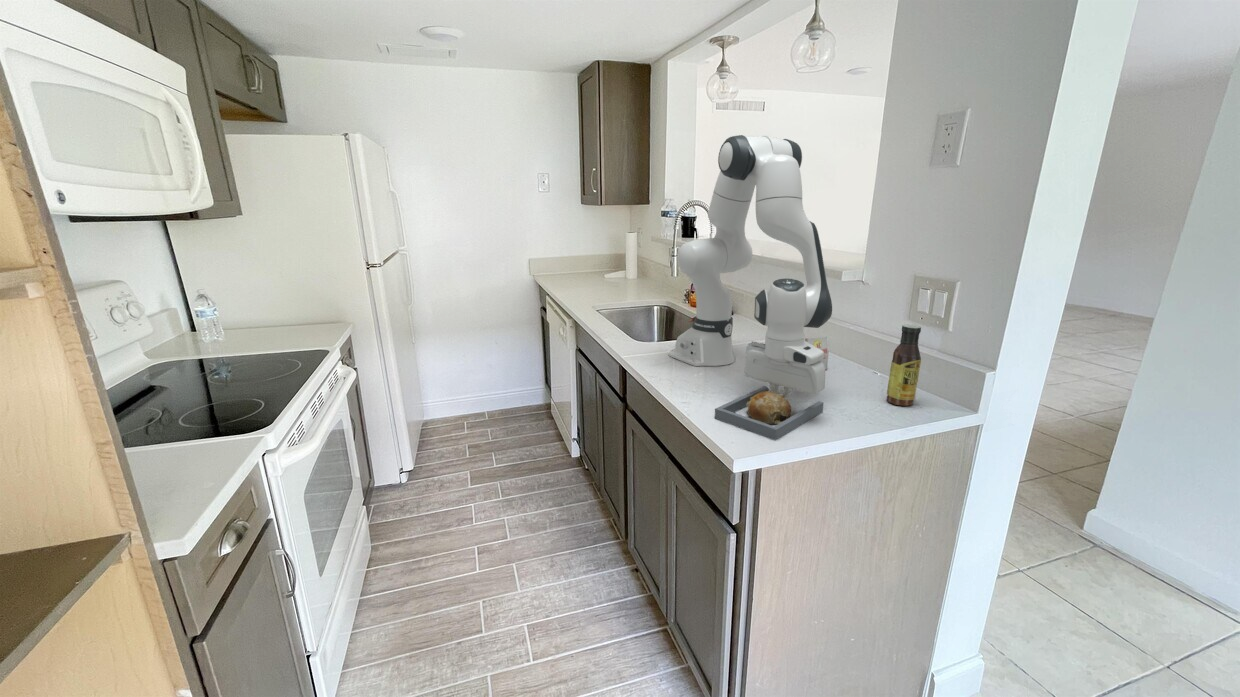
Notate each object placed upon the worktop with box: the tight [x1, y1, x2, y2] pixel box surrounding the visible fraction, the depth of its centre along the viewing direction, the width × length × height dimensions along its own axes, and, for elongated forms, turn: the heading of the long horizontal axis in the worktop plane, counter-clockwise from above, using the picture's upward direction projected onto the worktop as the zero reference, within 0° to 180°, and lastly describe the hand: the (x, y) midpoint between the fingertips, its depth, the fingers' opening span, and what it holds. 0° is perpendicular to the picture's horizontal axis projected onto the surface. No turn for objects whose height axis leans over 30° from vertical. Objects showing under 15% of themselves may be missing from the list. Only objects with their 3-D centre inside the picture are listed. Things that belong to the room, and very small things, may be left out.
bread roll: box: [746, 390, 793, 426], centre depth 122 cm, size 10×10×8 cm
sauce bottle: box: [886, 324, 922, 407], centre depth 126 cm, size 7×6×20 cm
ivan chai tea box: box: [804, 336, 830, 372], centre depth 153 cm, size 4×7×10 cm, turn 100°
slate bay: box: [714, 385, 825, 441], centre depth 123 cm, size 16×21×2 cm
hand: (780, 401), depth 126 cm, fingers closed
